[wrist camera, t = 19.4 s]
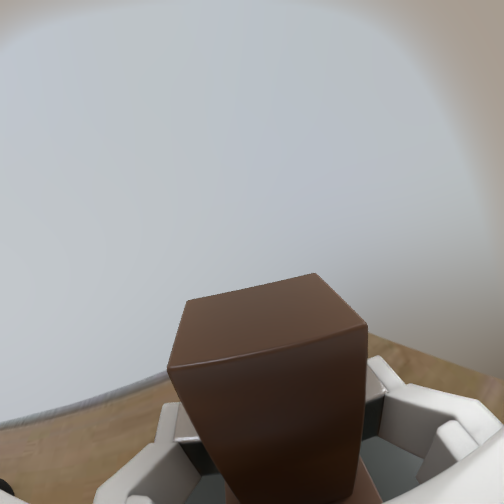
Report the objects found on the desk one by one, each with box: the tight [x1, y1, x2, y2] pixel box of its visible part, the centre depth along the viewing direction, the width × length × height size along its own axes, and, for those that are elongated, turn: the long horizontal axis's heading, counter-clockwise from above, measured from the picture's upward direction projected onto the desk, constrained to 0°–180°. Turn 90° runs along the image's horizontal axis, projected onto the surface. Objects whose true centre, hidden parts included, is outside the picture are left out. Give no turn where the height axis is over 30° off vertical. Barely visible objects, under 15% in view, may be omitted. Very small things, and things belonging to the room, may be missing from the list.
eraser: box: [167, 273, 383, 504], centre depth 7 cm, size 5×8×10 cm, turn 5°
